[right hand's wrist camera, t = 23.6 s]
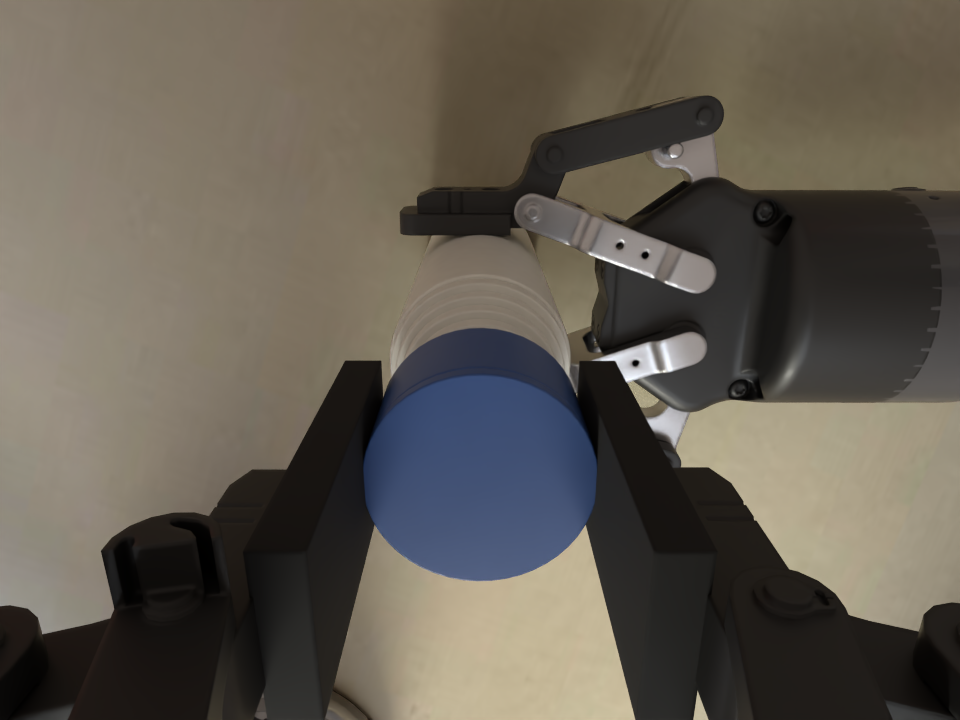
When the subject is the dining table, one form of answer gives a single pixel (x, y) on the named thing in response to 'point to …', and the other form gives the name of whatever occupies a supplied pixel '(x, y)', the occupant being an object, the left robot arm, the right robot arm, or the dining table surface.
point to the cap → (480, 457)
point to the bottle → (480, 295)
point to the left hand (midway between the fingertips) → (407, 297)
